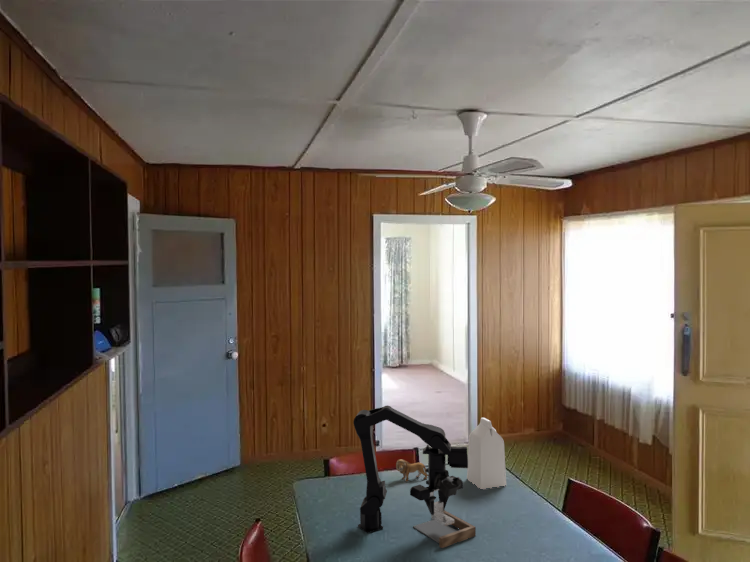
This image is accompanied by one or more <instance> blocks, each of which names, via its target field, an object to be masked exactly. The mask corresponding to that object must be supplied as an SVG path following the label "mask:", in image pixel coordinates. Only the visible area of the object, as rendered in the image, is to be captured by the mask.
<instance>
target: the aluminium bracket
mask: <svg viewBox="0 0 750 562" xmlns="http://www.w3.org/2000/svg"><path fill="white" fill-rule="evenodd" d="M430 515H431V514H430ZM431 520H435V521H437V522H439V523H440V524H442V525H444V526H447V525H448V526H450V525H451V524H453V523H454V519H453V518H451V517H449V516H447V515H445V514H444V513H443V502H442V501H439V500H438V501H434V515H431Z"/></svg>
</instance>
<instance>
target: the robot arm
mask: <svg viewBox="0 0 750 562" xmlns="http://www.w3.org/2000/svg"><path fill="white" fill-rule="evenodd" d="M384 421H388V422H390V423H392V424H394V425H396V426H397V427H400V428H401V429H403V430H406V431H407V432H410V433H412V434H414V435H416V436H417V437H419V438H420V439H421V440H422V441H423V442H424V443H425V444H426V446H425V447H424V448H423V449H422V455H427V457H428V458H427V460H428V461H427V462H428V464H427V468H426V472H427V474H428V476H427V479H426V480H425V484H426V485H427V486H426V487H425V486H424V485H421V484H418V485H414V486H412V487H410V489H409V495H410V496H411V497H412V498H415V499H416V500H419V501H424V502H425V505H426V507H427V509H428V511H429V513H430V515H434V502H435V500H437V496H435V494H434V493H435V492H436V491H437V494H438V501H442V502H443V512H444V510H446V509H445V508H446V506H447V503H448V500H449V497H452V496H455V495H457V493H458V490H462V489H464V482H463V480H462V478H460V477H459V476H455V475H450V474H449V470H447V469H446V462H447V465H448V466H449V467H450V468H452V469H454V468H455V469H467V468H468V446H452V444H451V443H450V441H449V440H448V439H447V437H446V432H445V430H444V429H443V428H442V427H439V426H436V425H434V424H433V425H432V424H430V423H429V424H427V423H424V422H421V421H418V420H417V419H415V418H413V417H410V416H409V415H407V414H405V413H403V412H401V411H399V410H396V409H395V408H393V406H391V405H384V406H381V407H377V408H373V409H369V410H367V409H361V410H360V411H359V412H358V413H357V414H356V416H355V417H354V419H353V422H352V423H353V426H354V429H355V432H356V435H357V437H358V438H359V441H360V445H361V452H362V458H363V464H364V470H365V476H366V491H365V492H366V494H365V495H366V496H365V497H364V498H363V500H362V502H361V504H360V507H359V511H360V512H359V515H360V516H359V521H360V523H359V524H357V527H358V528H360V530H362V531H364V532H365V533H366V534H370V533H373V532H377V531H380V530H382V529H384V525H382V523H383V522H382V521H383V520H382V512H381V508H382V506H383V505H384V501H385V499H386V496H387V492H388V490H387V487H386V480H381V479H380V475H379V469H378V464H377V463H378V462H377V457H376V450H375V447H374V439H373V431H374V426H375V425H377V424H379V423H381V422H384ZM446 456H447V458H446ZM446 460H447V461H446Z"/></svg>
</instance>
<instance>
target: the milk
mask: <svg viewBox="0 0 750 562" xmlns="http://www.w3.org/2000/svg"><path fill="white" fill-rule="evenodd" d="M467 455H468V468H466V469H467V472H466V480H467V479H468V482H470V483H471V482H472V483H471V484H473V485H474V484H475V485H476V486H477V487H476V486H475V485H474V486H475V487H476V488H478V489H479V488H480V489H483V490H487V489H486V488H490V489H493V488H492V487H497V488H500V487H499V486H504V487H506V486H507V475H506V473H507V472H506V471H507V470H506V457H505V456H506V454H505V442H504V439H503V436H502V435H500V434H499V433H498V432H497V430H496V428H495V427H493V425H492V420H489V419H488V418H486V417H481V418H480V421H479V424H478V425H477V426H475V428H474V429H473V430H472V431H471V432H470V433H469V435H468V446H467ZM505 485H506V486H505ZM480 489H479V490H480Z"/></svg>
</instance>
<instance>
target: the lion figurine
mask: <svg viewBox="0 0 750 562" xmlns="http://www.w3.org/2000/svg"><path fill="white" fill-rule="evenodd" d="M395 468H396V470H397V471H398V472H399V473H400V474H402V475H403V477H402V478H401V479H402V480H405V482H409V475H410V474H413V473H416V472H417V475H416V476H415V477H416V478H417V477H418V478H419V477H420V476H421V474H422V475H423V476H424V477H423V480H425V479H426V480H428V472H426V469H427V468H426V465H424V463H422V462H415V463H410V462H409V461H407V460H405V459H397V460H396V463H395Z"/></svg>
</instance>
